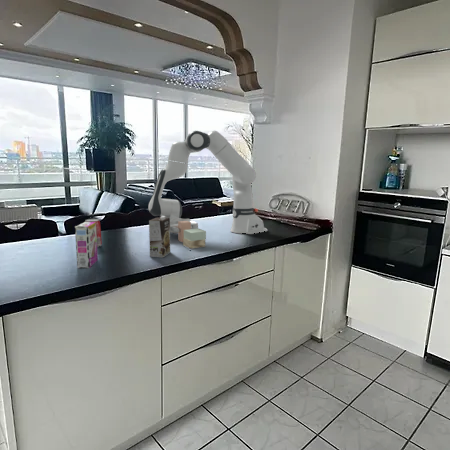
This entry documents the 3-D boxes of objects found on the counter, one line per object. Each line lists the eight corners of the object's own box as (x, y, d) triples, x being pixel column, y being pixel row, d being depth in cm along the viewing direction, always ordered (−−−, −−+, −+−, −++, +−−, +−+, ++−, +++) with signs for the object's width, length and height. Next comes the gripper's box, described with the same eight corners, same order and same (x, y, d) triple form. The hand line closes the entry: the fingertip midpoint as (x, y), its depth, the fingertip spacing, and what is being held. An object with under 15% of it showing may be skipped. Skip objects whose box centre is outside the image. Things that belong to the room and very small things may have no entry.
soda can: (105, 245, 164) (103, 219, 161) (94, 248, 157) (93, 221, 155) (93, 244, 166) (91, 218, 163) (82, 247, 159) (80, 220, 157)
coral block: (187, 239, 178) (186, 220, 176) (191, 241, 174) (190, 222, 172) (178, 240, 175) (178, 221, 174) (182, 242, 171) (181, 223, 169)
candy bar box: (90, 268, 128) (87, 226, 125) (77, 268, 128) (73, 226, 125) (98, 260, 139) (96, 221, 136) (86, 260, 139) (83, 221, 136)
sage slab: (198, 236, 169) (198, 228, 169) (206, 239, 163) (205, 231, 162) (183, 237, 165) (183, 229, 164) (191, 241, 158) (191, 232, 158)
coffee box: (163, 257, 143) (162, 220, 140) (149, 256, 145) (148, 220, 142) (171, 252, 152) (170, 217, 149) (157, 251, 153) (156, 216, 150)
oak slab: (197, 243, 170) (197, 236, 169) (205, 247, 163) (205, 239, 162) (183, 245, 166) (183, 237, 165) (190, 249, 159) (190, 241, 158)
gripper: (156, 221, 179) (165, 225, 167) (191, 218, 189) (202, 222, 177) (156, 232, 180) (166, 237, 168) (191, 229, 190) (202, 233, 178)
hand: (185, 229), depth 173 cm, fingers closed on coral block, 5 cm apart
